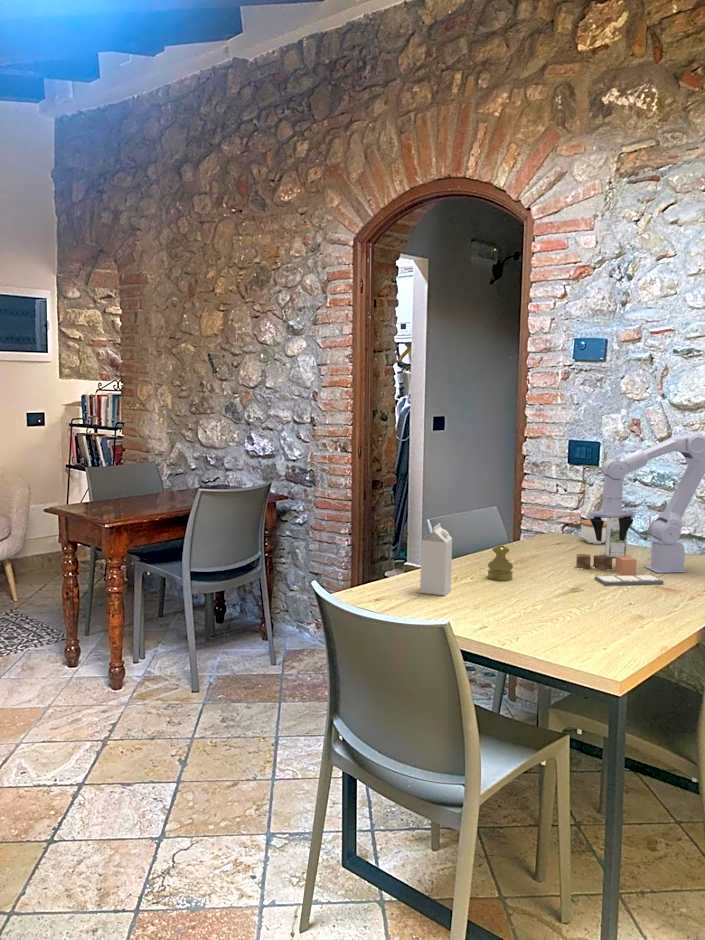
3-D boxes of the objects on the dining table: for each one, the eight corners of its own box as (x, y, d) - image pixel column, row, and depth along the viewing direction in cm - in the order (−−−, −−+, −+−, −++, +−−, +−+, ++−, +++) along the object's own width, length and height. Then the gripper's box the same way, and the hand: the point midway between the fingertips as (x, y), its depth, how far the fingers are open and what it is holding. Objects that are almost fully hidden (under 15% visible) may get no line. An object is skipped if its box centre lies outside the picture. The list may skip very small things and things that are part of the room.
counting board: (651, 578, 233) (651, 574, 233) (663, 584, 226) (663, 580, 226) (594, 579, 230) (594, 576, 230) (605, 585, 224) (605, 582, 223)
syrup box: (621, 554, 265) (623, 513, 263) (625, 558, 259) (628, 516, 257) (604, 554, 265) (606, 512, 264) (608, 557, 260) (610, 515, 258)
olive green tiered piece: (514, 581, 227) (515, 548, 226) (489, 581, 228) (490, 548, 226) (510, 575, 235) (511, 543, 234) (485, 574, 235) (486, 542, 234)
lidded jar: (606, 540, 289) (607, 515, 288) (613, 546, 278) (614, 520, 277) (577, 539, 290) (578, 514, 289) (583, 545, 279) (584, 519, 278)
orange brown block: (628, 571, 241) (629, 556, 240) (635, 575, 237) (636, 559, 236) (615, 572, 240) (615, 556, 240) (621, 575, 236) (622, 559, 235)
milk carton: (419, 593, 213) (421, 526, 211) (426, 587, 220) (428, 522, 218) (444, 596, 211) (446, 528, 209) (450, 589, 217) (452, 523, 215)
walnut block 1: (589, 566, 247) (589, 554, 247) (590, 569, 243) (590, 557, 243) (576, 566, 248) (576, 553, 247) (576, 568, 244) (577, 556, 244)
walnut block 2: (603, 566, 247) (603, 554, 247) (611, 569, 243) (612, 557, 243) (593, 567, 246) (593, 555, 245) (601, 570, 242) (602, 558, 241)
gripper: (628, 495, 245) (625, 537, 247) (584, 496, 243) (582, 538, 245) (639, 499, 238) (636, 542, 240) (594, 499, 236) (592, 542, 238)
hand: (610, 540), depth 242 cm, fingers open, 7 cm apart
